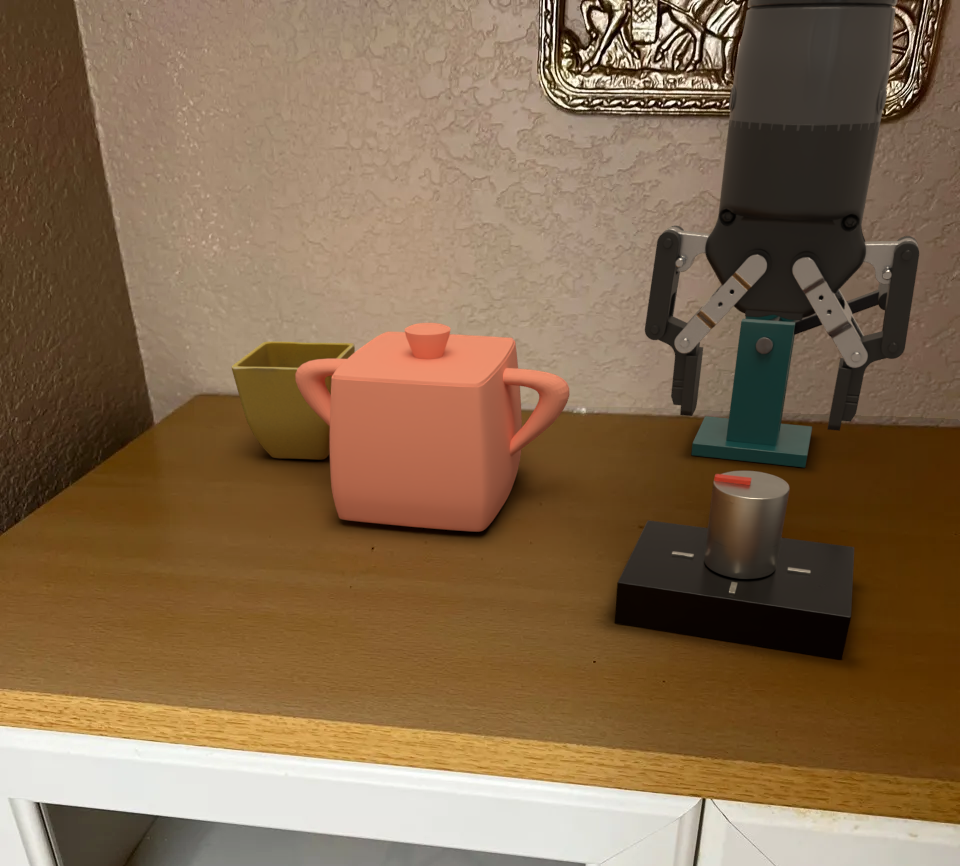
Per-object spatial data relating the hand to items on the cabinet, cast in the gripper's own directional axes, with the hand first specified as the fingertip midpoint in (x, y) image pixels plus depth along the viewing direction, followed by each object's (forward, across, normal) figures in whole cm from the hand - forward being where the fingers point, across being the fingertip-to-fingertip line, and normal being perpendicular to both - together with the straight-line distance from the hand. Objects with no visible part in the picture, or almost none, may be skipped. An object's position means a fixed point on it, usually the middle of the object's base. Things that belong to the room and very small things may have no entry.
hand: (759, 419), depth 59 cm
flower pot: (+13, +41, -17) cm, 46 cm away
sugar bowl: (+13, +26, -13) cm, 32 cm away
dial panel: (+13, 0, 0) cm, 13 cm away
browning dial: (+10, 0, 0) cm, 10 cm away
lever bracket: (+13, +2, -31) cm, 34 cm away
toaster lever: (+2, -3, -31) cm, 31 cm away
